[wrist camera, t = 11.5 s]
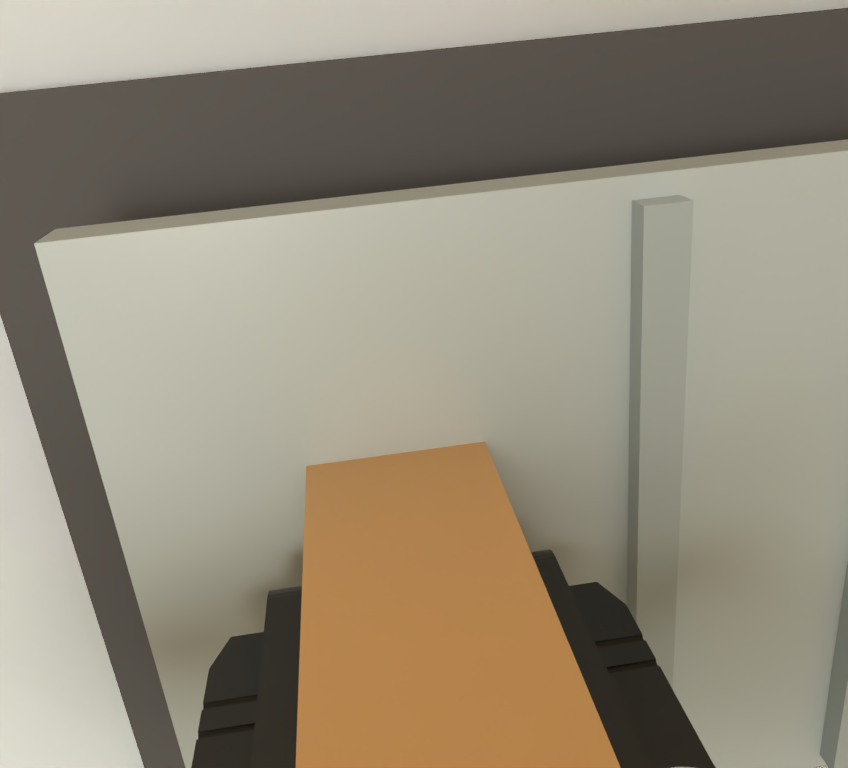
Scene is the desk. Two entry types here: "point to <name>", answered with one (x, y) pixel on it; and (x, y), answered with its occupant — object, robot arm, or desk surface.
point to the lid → (487, 449)
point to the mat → (358, 186)
